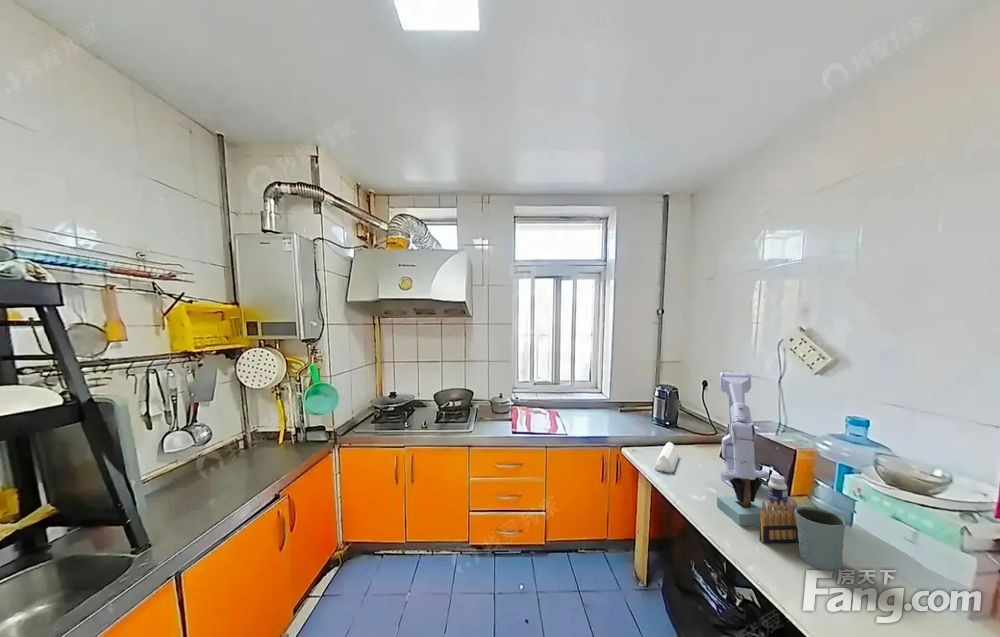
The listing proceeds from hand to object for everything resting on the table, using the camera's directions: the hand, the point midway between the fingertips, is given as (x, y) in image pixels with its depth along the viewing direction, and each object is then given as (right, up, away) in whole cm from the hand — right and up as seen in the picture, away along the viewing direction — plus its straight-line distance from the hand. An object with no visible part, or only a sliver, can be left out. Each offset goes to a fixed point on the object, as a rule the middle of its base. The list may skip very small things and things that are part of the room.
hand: (745, 500), depth 124 cm
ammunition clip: (0, -5, -15) cm, 16 cm away
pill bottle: (+15, -5, +6) cm, 17 cm away
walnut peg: (0, -3, 0) cm, 3 cm away
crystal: (-5, -6, +46) cm, 46 cm away
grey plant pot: (+4, -5, -24) cm, 25 cm away
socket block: (0, -5, 0) cm, 5 cm away
